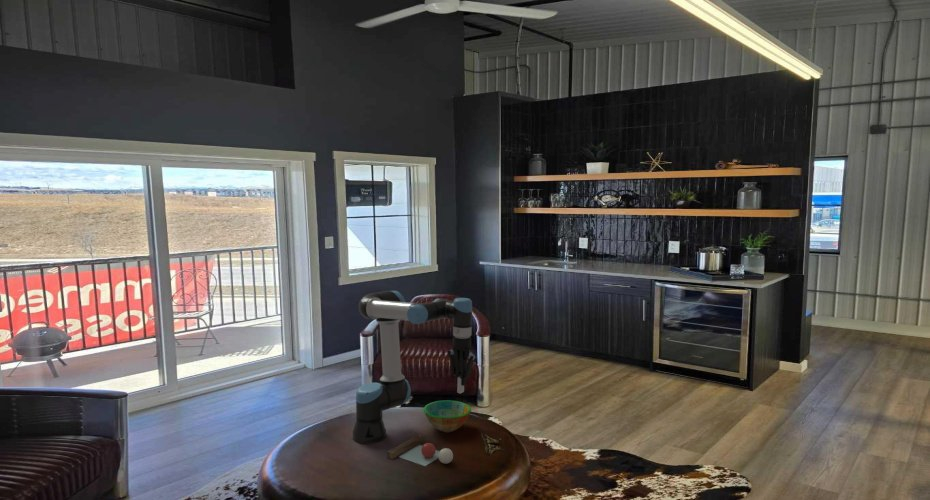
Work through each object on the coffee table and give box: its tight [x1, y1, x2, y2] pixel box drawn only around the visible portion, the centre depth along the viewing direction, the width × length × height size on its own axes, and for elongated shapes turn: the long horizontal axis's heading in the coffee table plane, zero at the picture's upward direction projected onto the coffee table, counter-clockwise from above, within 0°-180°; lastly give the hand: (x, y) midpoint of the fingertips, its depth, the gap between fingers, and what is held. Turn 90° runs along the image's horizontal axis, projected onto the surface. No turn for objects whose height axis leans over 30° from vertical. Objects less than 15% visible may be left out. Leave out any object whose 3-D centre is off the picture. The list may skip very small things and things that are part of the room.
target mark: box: [398, 444, 441, 467], centre depth 238 cm, size 14×14×1 cm
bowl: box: [422, 399, 472, 433], centre depth 265 cm, size 22×22×10 cm
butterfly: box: [480, 432, 506, 457], centre depth 247 cm, size 18×4×10 cm
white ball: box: [438, 447, 454, 465], centre depth 231 cm, size 6×6×6 cm
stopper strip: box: [386, 435, 423, 460], centre depth 243 cm, size 2×20×2 cm, turn 146°
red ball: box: [421, 442, 437, 458], centre depth 236 cm, size 6×6×6 cm
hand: (460, 392), depth 232 cm, fingers closed
